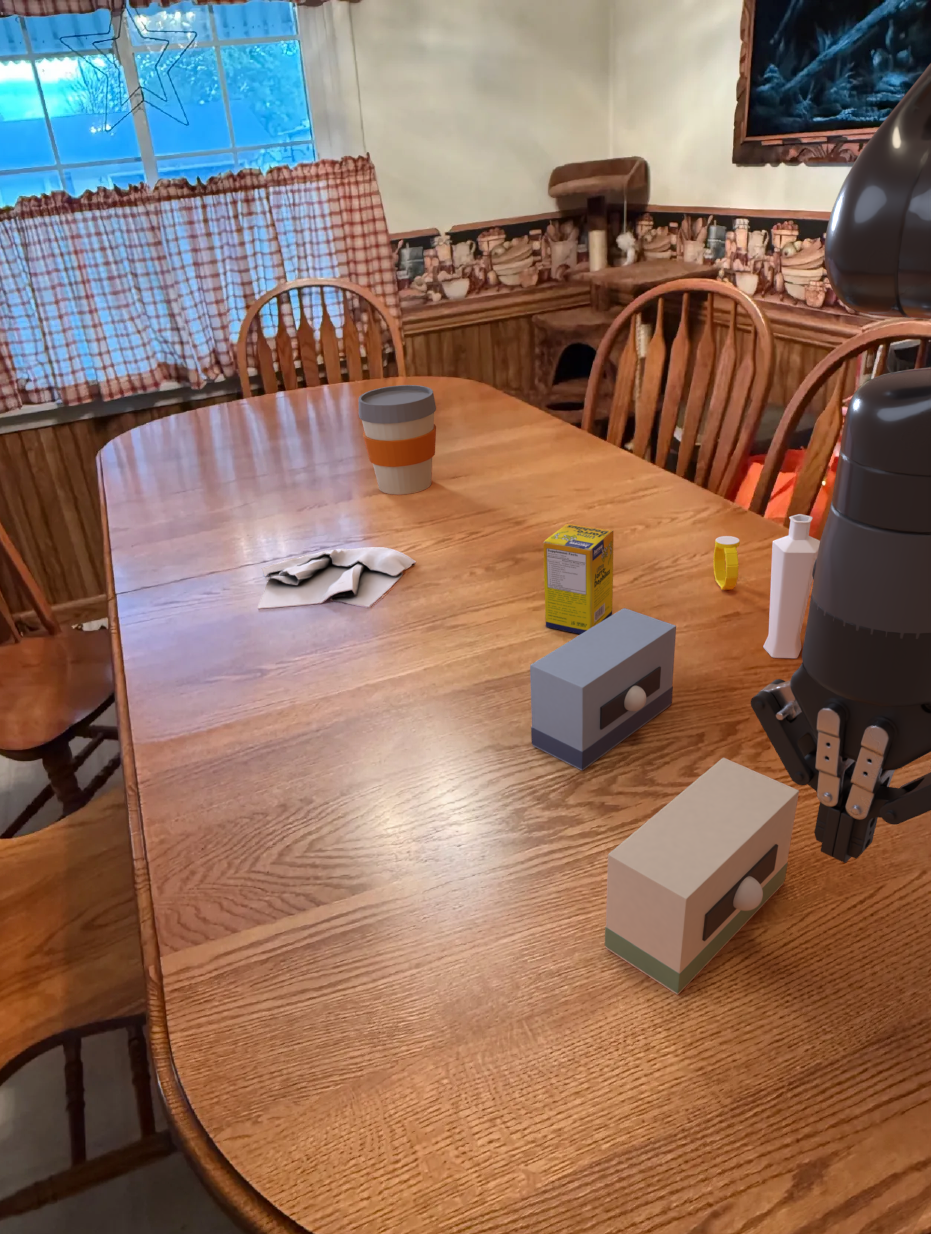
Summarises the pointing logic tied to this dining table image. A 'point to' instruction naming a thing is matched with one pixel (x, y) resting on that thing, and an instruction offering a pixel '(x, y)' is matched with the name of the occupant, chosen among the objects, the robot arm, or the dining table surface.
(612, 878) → the cream tissue box
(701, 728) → the dining table surface
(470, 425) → the dining table surface
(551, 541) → the supplement box
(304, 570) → the cloth
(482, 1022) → the dining table surface
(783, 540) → the perfume bottle
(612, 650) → the blue tissue box
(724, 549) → the watch
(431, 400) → the reusable coffee cup
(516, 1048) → the dining table surface
